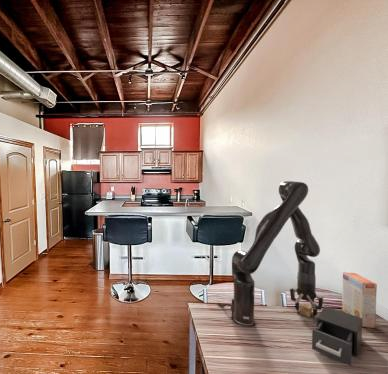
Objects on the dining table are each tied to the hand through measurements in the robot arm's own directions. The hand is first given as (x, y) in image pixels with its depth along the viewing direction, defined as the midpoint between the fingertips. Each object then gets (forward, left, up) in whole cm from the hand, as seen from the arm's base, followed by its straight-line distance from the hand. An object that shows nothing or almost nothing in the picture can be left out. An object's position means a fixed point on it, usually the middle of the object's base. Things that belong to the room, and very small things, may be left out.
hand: (305, 312), depth 118 cm
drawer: (+15, -26, 0) cm, 30 cm away
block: (0, 0, -1) cm, 1 cm away
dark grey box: (+15, -13, -1) cm, 20 cm away
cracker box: (+18, +14, -1) cm, 23 cm away
